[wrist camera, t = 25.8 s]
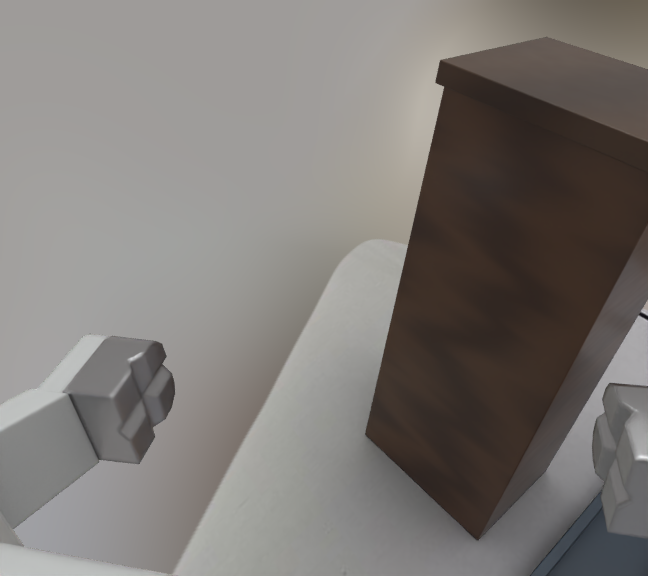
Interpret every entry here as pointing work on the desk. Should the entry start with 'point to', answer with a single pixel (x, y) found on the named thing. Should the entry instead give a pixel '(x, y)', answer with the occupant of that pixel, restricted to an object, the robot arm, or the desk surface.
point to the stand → (515, 270)
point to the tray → (595, 550)
